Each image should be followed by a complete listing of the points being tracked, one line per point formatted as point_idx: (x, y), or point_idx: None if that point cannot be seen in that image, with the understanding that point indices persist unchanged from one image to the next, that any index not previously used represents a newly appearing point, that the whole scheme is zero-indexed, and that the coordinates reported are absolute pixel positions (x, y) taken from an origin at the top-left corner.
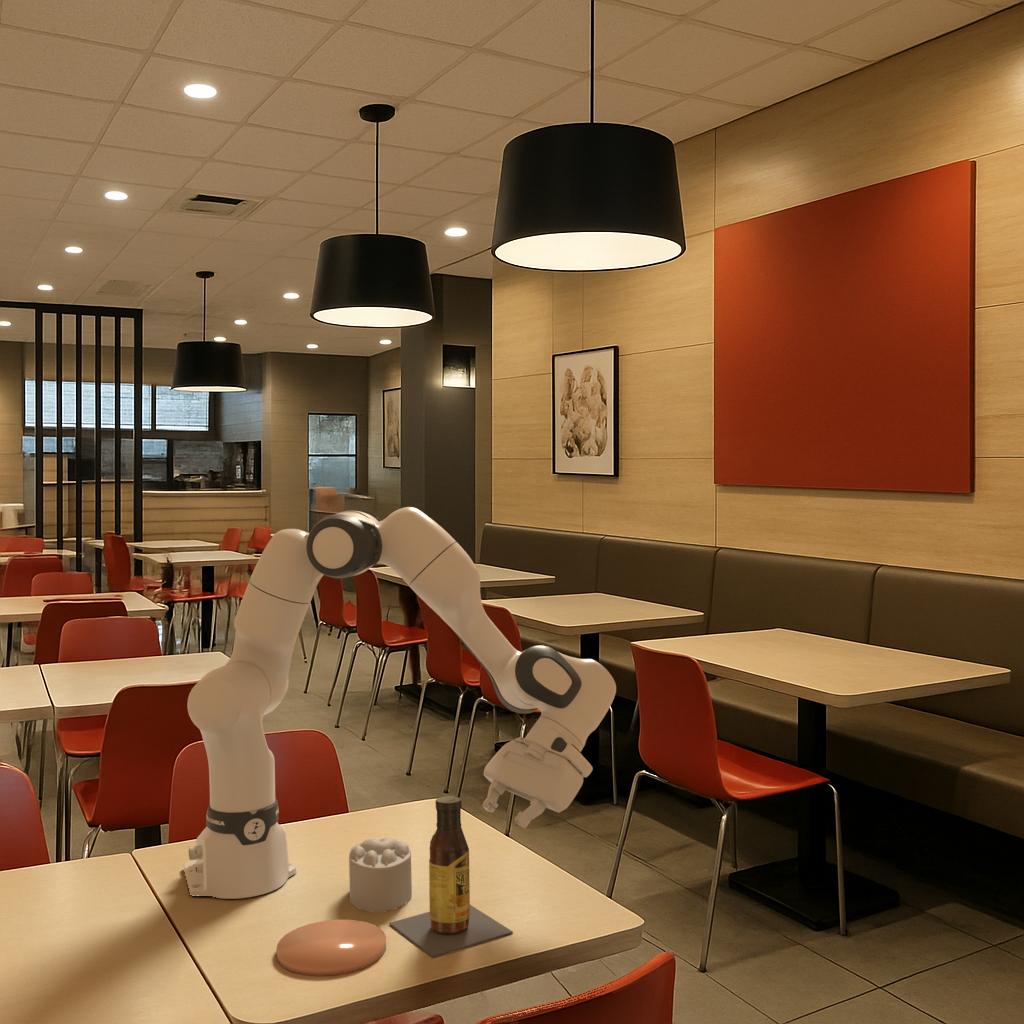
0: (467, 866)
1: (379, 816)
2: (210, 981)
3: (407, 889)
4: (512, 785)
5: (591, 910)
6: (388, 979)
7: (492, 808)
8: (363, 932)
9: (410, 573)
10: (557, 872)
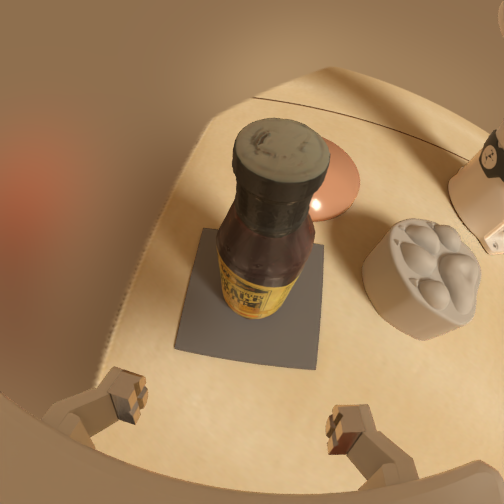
0: (221, 269)
1: None
2: (309, 107)
3: (382, 300)
4: (234, 492)
5: None
6: (204, 176)
7: (329, 427)
8: None
9: None
10: None
